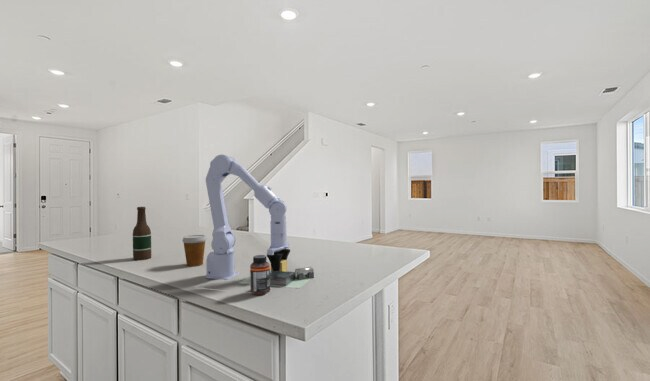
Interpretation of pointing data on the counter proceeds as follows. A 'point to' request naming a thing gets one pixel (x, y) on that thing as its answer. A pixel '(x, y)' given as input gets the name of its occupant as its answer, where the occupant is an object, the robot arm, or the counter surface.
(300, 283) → the mat
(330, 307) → the counter surface
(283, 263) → the yellow block
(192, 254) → the disposable coffee cup
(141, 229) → the beer bottle
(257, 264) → the supplement bottle
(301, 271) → the shaft
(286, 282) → the frame
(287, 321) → the counter surface
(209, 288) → the counter surface
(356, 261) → the counter surface
